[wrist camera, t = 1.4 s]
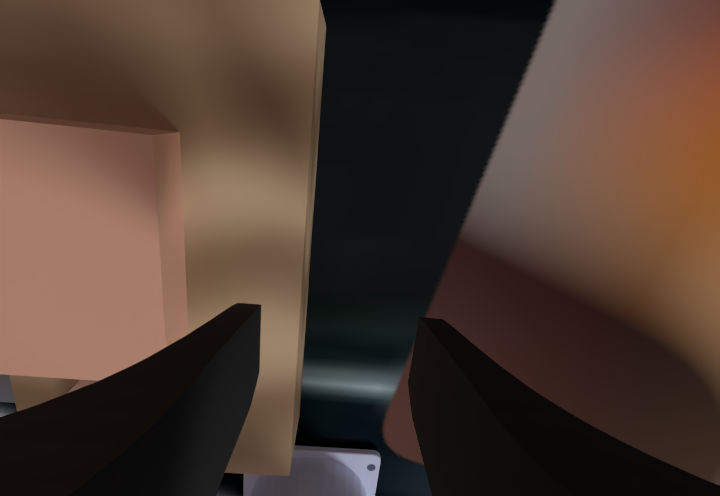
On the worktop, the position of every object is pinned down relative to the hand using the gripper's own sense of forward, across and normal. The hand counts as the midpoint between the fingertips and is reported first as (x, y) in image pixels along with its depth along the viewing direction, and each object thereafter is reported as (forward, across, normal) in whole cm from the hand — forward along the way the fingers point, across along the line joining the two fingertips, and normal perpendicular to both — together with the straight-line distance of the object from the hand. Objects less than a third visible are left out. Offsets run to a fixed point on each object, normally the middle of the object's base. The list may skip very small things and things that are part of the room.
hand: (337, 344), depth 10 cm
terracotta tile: (+5, +9, 0) cm, 10 cm away
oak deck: (+9, +8, +1) cm, 12 cm away
